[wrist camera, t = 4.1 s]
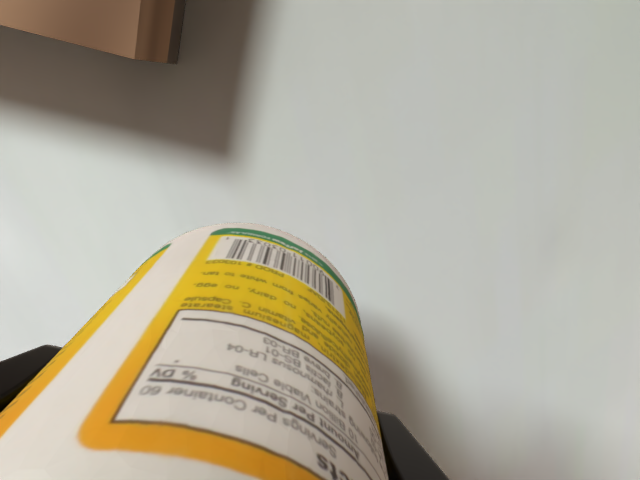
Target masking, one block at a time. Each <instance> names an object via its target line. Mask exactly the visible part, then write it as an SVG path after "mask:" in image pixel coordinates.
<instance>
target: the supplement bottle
mask: <svg viewBox="0 0 640 480" xmlns="http://www.w3.org/2000/svg"><path fill="white" fill-rule="evenodd" d="M0 480H389V479H388V474H387V468H386V463H385V457H384V452H383V446H382V440H381V434H380V428H379V422H378V416H377V411H376V406H375V400H374V395H373V389H372V384H371V378H370V372H369V365H368V360H367V354H366V349H365V343H364V335H363V331H362V327H361V321H360V316H359V312H358V308H357V305H356V302H355V299H354V297H353V295H352V293H351V291H350V289H349V287H348V285H347V283H346V282H345V280H344V279H343V277H342V276H341V274H340V273H339V272H338V270H337V269H336V268H335V267H334V266H333V265H332V264H331V263H330V261H329V260H328V259H327V258H326V257H325V256H323V255H322V254H321V253H320V252H318V251H317V250H316V249H315V248H313V247H312V246H310V245H309V244H308V243H306V242H304V241H302V240H301V239H299V238H297V237H295V236H293V235H291V234H289V233H286V232H283V231H281V230H278V229H275V228H272V227H268V226H264V225H258V224H253V223H224V224H215V225H210V226H206V227H201V228H198V229H195V230H192V231H189V232H186V233H184V234H182V235H181V236H179V237H177V238H175V239H173V240H171V241H169V242H168V243H166V244H165V245H163V246H162V247H161V248H160V249H158V250H157V251H156V252H154V253H153V254H152V255H151V256H150V257H149V258H148V259H147V260H146V261H145V262H144V263H143V264H142V265H141V266H140V267H139V268H138V269H137V270H136V271H135V272H134V273H133V274H132V276H131V277H130V278H129V279H128V280H127V281H126V282H125V283H124V284H123V285H122V286H121V287H120V288H119V289H118V290H117V291H116V292H115V293H114V294H113V295H112V296H111V297H110V298H109V300H108V301H107V302H106V303H105V304H104V305H103V306H102V307H101V308H100V309H99V311H98V312H97V313H96V314H95V315H94V316H93V317H92V318H91V319H90V320H89V321H88V322H87V323H86V324H85V325H84V326H83V327H82V328H81V329H80V330H79V331H78V333H77V334H76V335H75V336H74V337H73V338H72V339H71V340H70V341H69V342H68V343H67V344H66V345H65V346H64V347H63V348H62V349H61V350H60V351H59V352H58V353H57V355H56V356H55V357H54V358H53V359H52V360H51V361H50V362H49V363H48V364H47V365H46V366H45V367H44V368H43V369H42V370H41V371H40V372H39V373H38V374H37V376H36V377H35V378H34V379H33V380H32V381H31V382H30V383H28V384H27V386H26V387H25V388H24V389H23V390H22V391H21V392H20V393H19V394H18V395H17V397H16V398H15V399H14V400H13V401H12V402H11V403H10V404H9V405H8V406H7V407H6V408H5V409H4V410H3V411H2V412H1V413H0Z"/></svg>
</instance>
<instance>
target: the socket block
mask: <svg viewBox="0 0 640 480" xmlns="http://www.w3.org/2000/svg"><path fill="white" fill-rule="evenodd" d="M185 2H186V0H0V25H3V26H7V27H10V28H14V29H18V30H22V31H26V32H30V33H34V34H38V35H42V36H45V37H49V38H53V39H57V40H61V41H65V42H69V43H73V44H77V45H81V46H84V47H88V48H92V49H96V50H100V51H104V52H108V53H112V54H116V55H120V56H123V57H127V58H131V59H136V60H145V61H153V62H162V63H170V64H177V60H178V53H179V45H180V38H181V31H182V24H183V16H184V9H185Z"/></svg>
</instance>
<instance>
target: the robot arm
mask: <svg viewBox="0 0 640 480" xmlns="http://www.w3.org/2000/svg"><path fill="white" fill-rule="evenodd" d="M61 349H62V347H58V346H53V345H43V346H40V347H38V348H35V349H32V350H30V351H27V352H24V353H22V354H19V355H17V356H14V357H11V358H9V359H6V360H3V361H1V362H0V413H1V412H2V411H3V410H4V409H5V408H6V407H7V406H8V405H9V404H10V403H11V402H12V401H13V400H14V399H15V398H16V397H17V395H18V394H19V393H20V392H21V391H22V390H23V389H24V388H25V387H26V386H27V384H28V383H30V382H31V381H32V380H33V379H34V378H35V377H36V376H37V374H38V373H39V372H40V371H41V370H42V369H43V368H44V367H45V366H46V365H47V364H48V363H49V362H50V361H51V360H52V359H53V358H54V357H55V356H56V355H57V353H58V352H59V351H60V350H61ZM377 416H378V422H379V428H380V434H381V440H382V446H383V452H384V457H385V463H386V468H387V474H388V479H389V480H449V479H448V477H447V476H446V475H445V474H444V473H443V471H442V470H441V469H440V468H439V467H438V465H437V464H436V463H435V462H434V461H433V460H432V458H431V457H430V456H429V455H428V454H427V452H426V451H425V450H424V449H423V448H422V446H421V445H420V444H419V443H418V442H417V440H416V439H415V438H414V437H413V436H412V434H411V433H410V432H409V431H408V430H407V428H406V427H405V426H404V425H403V424H402V423H401V421H400V420H399V419H398V418H397V417H396V416H395V415H393V414H390V413H385V412H380V411H377Z"/></svg>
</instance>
